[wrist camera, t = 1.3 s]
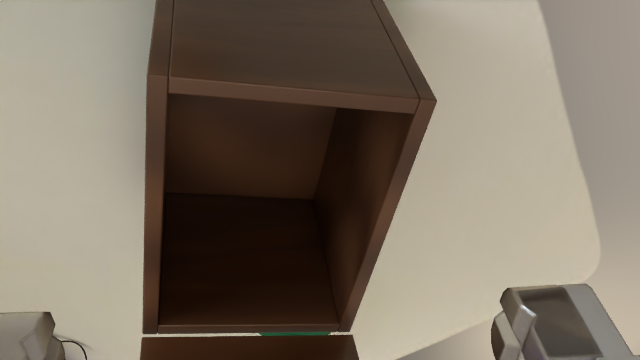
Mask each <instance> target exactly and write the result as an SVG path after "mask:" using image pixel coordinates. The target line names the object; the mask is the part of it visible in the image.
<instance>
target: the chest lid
mask: <svg viewBox="0 0 640 360" xmlns="http://www.w3.org/2000/svg"><path fill="white" fill-rule="evenodd" d="M140 360H359V357H358V353H357V350H356V346H355V342H354V338H353V335H297V336H215V337H143V338H142V342H141V353H140Z"/></svg>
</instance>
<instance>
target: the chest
mask: <svg viewBox="0 0 640 360" xmlns="http://www.w3.org/2000/svg"><path fill="white" fill-rule="evenodd" d="M436 102H437V100H436V98H435V96H434V94H433V92H432V90H431V89H430V87H429V85H428V83H427V81H426V79H425V77H424V76H423V74H422V72H421V70H420V68H419V66H418V64H417V63H416V61H415V59H414V57H413V55H412V53H411V51H410V50H409V48H408V46H407V44H406V42H405V40H404V39H403V37H402V35H401V33H400V31H399V29H398V27H397V26H396V24H395V22H394V20H393V18H392V16H391V14H390V13H389V11H388V9H387V7H386V5H385V3H384V1H383V0H156V6H155V14H154V22H153V30H152V38H151V46H150V54H149V62H148V70H147V97H146V155H145V213H144V272H143V330H142V333H143V334H157V332H158V334H199V333H292V332H337V331H338V332H350V330H351V327H352V324H353V322H354V319H355V316H356V314H357V311H358V308H359V306H360V303H361V300H362V298H363V295H364V293H365V290H366V287H367V285H368V282H369V279H370V277H371V274H372V271H373V269H374V266H375V264H376V261H377V258H378V256H379V253H380V250H381V248H382V245H383V242H384V240H385V237H386V234H387V232H388V229H389V227H390V224H391V221H392V219H393V216H394V213H395V211H396V208H397V205H398V203H399V200H400V198H401V195H402V192H403V190H404V187H405V184H406V182H407V179H408V176H409V174H410V171H411V168H412V166H413V163H414V161H415V158H416V155H417V153H418V150H419V147H420V145H421V142H422V139H423V137H424V134H425V132H426V129H427V126H428V124H429V121H430V118H431V116H432V113H433V110H434V108H435V105H436Z"/></svg>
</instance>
